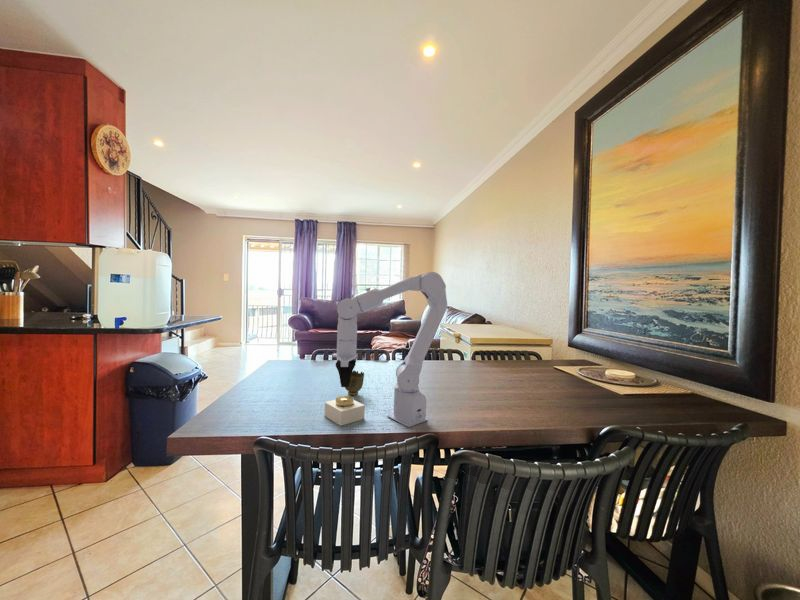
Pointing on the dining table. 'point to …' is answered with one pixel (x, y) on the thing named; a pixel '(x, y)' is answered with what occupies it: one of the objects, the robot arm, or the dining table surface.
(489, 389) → the dining table surface
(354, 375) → the cup
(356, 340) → the robot arm
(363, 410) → the block
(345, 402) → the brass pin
